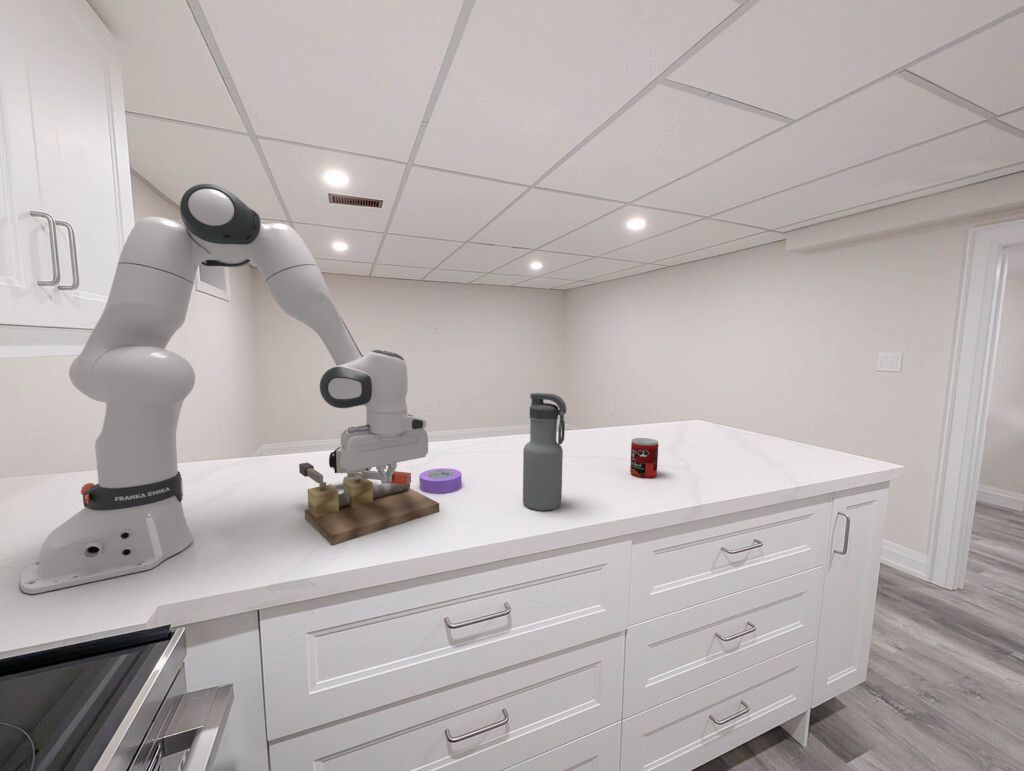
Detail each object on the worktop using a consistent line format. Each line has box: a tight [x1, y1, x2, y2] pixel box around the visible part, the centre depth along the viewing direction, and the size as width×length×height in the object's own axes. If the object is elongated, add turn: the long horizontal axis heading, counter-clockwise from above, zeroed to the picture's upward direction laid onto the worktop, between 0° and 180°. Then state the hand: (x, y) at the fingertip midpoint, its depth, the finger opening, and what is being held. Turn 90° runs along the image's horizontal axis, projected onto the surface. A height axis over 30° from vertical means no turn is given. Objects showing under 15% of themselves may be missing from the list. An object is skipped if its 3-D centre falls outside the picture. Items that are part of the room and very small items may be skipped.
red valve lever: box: [355, 470, 412, 485], centre depth 96 cm, size 2×14×3 cm, turn 76°
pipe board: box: [298, 462, 440, 546], centre depth 99 cm, size 25×27×10 cm
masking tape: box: [418, 467, 463, 495], centre depth 115 cm, size 12×12×4 cm
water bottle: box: [522, 392, 567, 511], centre depth 102 cm, size 10×10×28 cm
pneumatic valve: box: [328, 446, 372, 482], centre depth 114 cm, size 6×12×12 cm, turn 96°
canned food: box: [629, 437, 659, 479], centre depth 127 cm, size 8×8×11 cm
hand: (386, 482), depth 94 cm, fingers closed
